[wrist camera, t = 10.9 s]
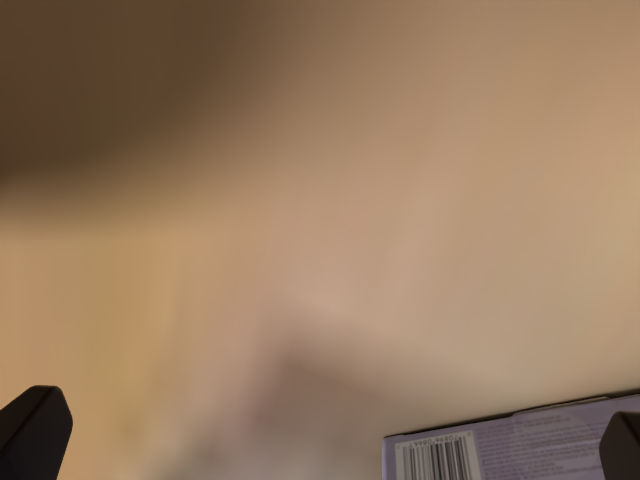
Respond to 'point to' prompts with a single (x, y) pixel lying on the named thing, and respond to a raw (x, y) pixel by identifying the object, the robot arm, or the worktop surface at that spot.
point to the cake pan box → (510, 445)
